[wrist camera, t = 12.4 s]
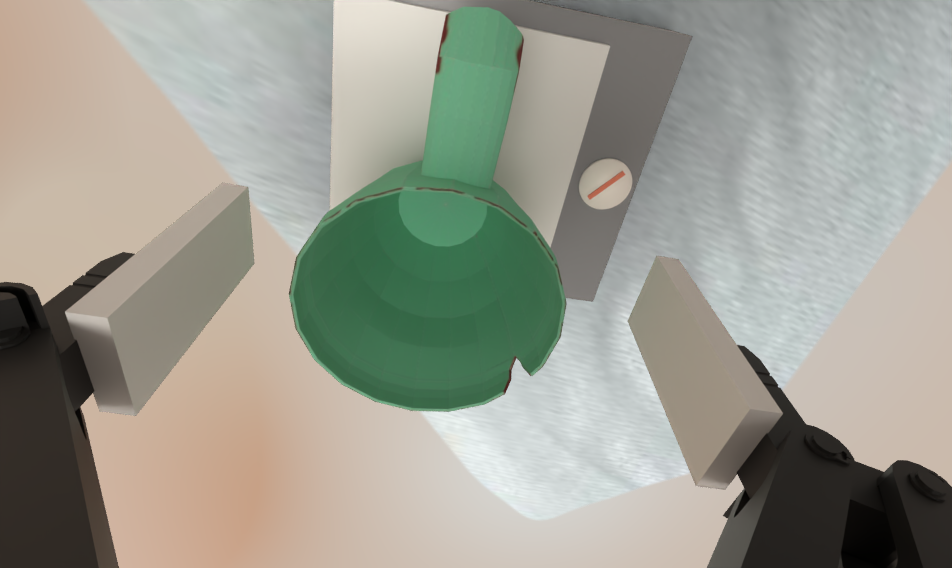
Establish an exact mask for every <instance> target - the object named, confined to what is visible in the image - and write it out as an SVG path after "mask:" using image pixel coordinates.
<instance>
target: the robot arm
mask: <svg viewBox="0 0 952 568" xmlns="http://www.w3.org/2000/svg"><path fill="white" fill-rule="evenodd" d="M253 265H254V253H253V240H252V228H251V216H250V203H249V190H248V187H245V186H239V185H234V184H228V183H221V184H220V185H219V186H218V187H216V188H215V189H214V190H213V191H212V192H210V193H209V194H208V195H207V196H205V197H204V198H203V199H202V200H201V201H199V202H198V203H197V204H196V205H195V206H193V207H192V208H191V209H190V210H188V211H187V212H186V213H185V214H184V215H182V216H181V217H180V218H179V219H177V220H176V221H175V222H174V223H173V224H171V225H170V226H169V227H168V228H166V229H165V230H164V231H163V232H162V233H160V234H159V235H158V236H157V237H156V238H154V239H153V240H152V241H151V242H150V243H148V244H147V245H146V246H145V247H143V248H142V249H141V250H140V251H138V252H137V253H136V254H132V253H125V252H122V253H120V254H118V255H115V256H113V257H110V258H108V259H105V260H103V261H101V262H100V263H98V264H97V265H96V266H94V267H93V268H92V269H90V270H89V271H88V272H86V275H85V276H83V275H82V276H81V277H80V278H79V279H77V280H76V281H75V282H73V285H69V286H68V287H67V288H65V289H64V290H63V291H62V292H60V293H59V294H58V295H57V296H55V297H54V298H52V299H51V300H50V301H49V302H47V303H46V304H45V305H43V306H42V305H41V302H40V299H39V297H38V294H37V293H36V291H35V290H34V289H33V287H30V286H28V285H25V284H22V283H11V282H4V283H0V568H119V566H118V562H117V558H116V553H115V549H114V545H113V541H112V536H111V532H110V528H109V523H108V519H107V514H106V510H105V506H104V501H103V498H102V493H101V488H100V484H99V480H98V476H97V471H96V467H95V462H94V458H93V454H92V449H91V446H90V441H89V437H88V432H87V428H86V423H85V419H84V415H83V413H82V410H81V408H80V406H81V405H82V404H83V403H84V402H85V401H86V400H87V399H88V398H89V396H90V395H91V394H92V393H93V394H94V397H95V400H96V402H97V405H98V408H99V411H101V412H109V413H117V414H125V415H133V416H136V415H137V414H138V413H139V411H140V410H141V409H142V407H143V406H144V405H145V404H146V402H147V401H148V400H149V398H150V397H151V396H152V395H153V393H154V392H155V391H156V389H157V388H158V387H159V386H160V384H161V383H162V382H163V381H164V379H165V378H166V377H167V375H168V374H169V373H170V371H171V370H172V369H173V368H174V366H175V365H176V364H177V362H178V361H179V360H180V358H181V357H182V356H183V355H184V353H185V352H186V351H187V350H188V348H189V347H190V345H191V344H192V343H193V342H194V341H195V339H196V338H197V337H198V335H199V334H200V333H201V331H202V330H203V329H204V328H205V326H206V325H207V324H208V322H209V321H210V320H211V319H212V317H213V316H214V315H215V313H216V312H217V311H218V310H219V308H220V307H221V306H222V304H223V303H224V302H225V301H226V299H227V298H228V297H229V295H230V294H231V293H232V292H233V290H234V289H235V288H236V286H237V285H238V284H239V283H240V281H241V280H242V279H243V277H244V276H245V275H246V274H247V272H248V271H249V269H250V268H251V267H252V266H253ZM628 323H629V325H630V328H631V330H632V333H633V335H634V338H635V340H636V342H637V345H638V347H639V350H640V352H641V354H642V357H643V359H644V362H645V364H646V367H647V369H648V371H649V374H650V376H651V379H652V381H653V383H654V386H655V388H656V391H657V393H658V396H659V398H660V400H661V403H662V405H663V408H664V410H665V412H666V415H667V417H668V420H669V422H670V425H671V427H672V429H673V432H674V434H675V437H676V439H677V441H678V444H679V446H680V449H681V451H682V454H683V456H684V458H685V461H686V463H687V466H688V468H689V470H690V473H691V475H692V478H693V480H694V482H695V485H696V486H700V487H708V488H716V489H726V488H727V487H728V485H729V484H730V483H731V482H732V480H733V479H734V478H735V476H736V475H737V474H738V476H739V478H740V480H741V482H742V484H743V486H744V490H743V491H742V492H741V493H740V495H739V496H738V497H737V498H736V500H735V501H734V502H733V503H732V505H731V506H730V507H729V508H728V510H727V511H726V512H725V514H724V515H723V516H725V517H726V518H728V520H727V523H726V525H725V527H724V529H723V532H722V534H721V536H720V539H719V541H718V543H717V546H716V548H715V550H714V553H713V555H712V557H711V560H710V562H709V564H708V566H707V568H952V487H951V486H950V485H949V484H948V483H947V481H945V480H944V479H943V478H942V477H941V476H938V474H936V473H935V472H933V471H931V470H929V469H927V468H925V467H923V466H921V465H919V464H916V463H913V462H910V461H904V460H898V461H896V462H895V463H893V464H892V465H891V466H890V467H889V468H888V469H887V470H886V471H885V472H882V471H880V470H877V469H875V468H872V467H869V466H866V465H864V464H861V463H858V462H856V461H854V458H853V456H852V455H851V453H850V452H849V450H848V449H847V448H846V447H845V446H844V445H843V444H842V443H841V442H840V441H839V440H838V439H836V438H835V437H833V436H832V435H830V434H829V433H827V432H825V431H823V430H821V429H819V428H817V427H814V426H810V425H806V424H805V422H804V421H803V419H802V418H801V417H800V415H799V414H798V412H797V411H796V410H795V408H794V407H793V405H792V404H791V403H790V401H789V400H788V398H787V397H786V395H785V394H784V393H783V391H782V390H781V388H778V384H777V383H776V381H775V380H774V379H773V377H772V376H770V373H769V372H768V370H767V369H766V367H765V366H764V365H763V363H762V362H761V360H760V359H759V358H758V357H756V356H755V355H754V354H753V353H752V352H751V351H749V350H748V349H747V348H746V347H745V346H740V345H736V343H735V342H734V340H733V339H732V337H731V336H730V334H729V333H728V331H727V330H726V328H725V327H724V325H723V324H722V322H721V321H720V320H719V318H718V317H717V315H716V314H715V312H714V311H713V309H712V308H711V306H710V305H709V303H708V302H707V300H706V299H705V297H704V296H703V294H702V293H701V292H700V290H699V289H698V287H697V286H696V284H695V283H694V281H693V280H692V278H691V277H690V275H689V274H688V272H687V271H686V269H685V268H684V266H683V265H682V263H681V262H680V261H679V259H673V258H668V257H662V256H656V258H655V261H654V263H653V265H652V267H651V270H650V272H649V274H648V277H647V279H646V281H645V283H644V286H643V288H642V290H641V292H640V295H639V297H638V299H637V301H636V304H635V306H634V308H633V310H632V313H631V315H630V317H629V320H628Z"/></svg>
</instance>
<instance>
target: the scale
mask: <svg viewBox="0 0 952 568" xmlns="http://www.w3.org/2000/svg"><path fill="white" fill-rule="evenodd" d="M462 7H489V8H491V9H494V10H497V11H500V12H501V13H502V14H503V15H505V16H506V17H507V18H508V19H509V20H510V21H511V22H512V23H513V24H514V25H515V26H516V27H517V28H518V29H519V31H520V32H521V33H522V35H523V38H524V43H523V50H522V56H521V63H520V69H519V74H518V79H517V83H516V87H515V92H514V96H513V100H512V104H511V109H510V113H509V117H508V122H507V126H506V130H505V134H504V137H503V141H502V145H501V149H500V153H499V157H498V161H497V165H496V169H495V173H494V176H493V181H495V182H496V183H497V184H499V185H500V186H501V187H502V188H504V189H505V190H506V191H507V192H508V194H509V195H510V196H511V197H512V199H513V200H514V201H515V202H516V203H517V205H518V206H519V207H520V208H521V209H522V210H523V211H524V212H525V213H526V214H527V215H528V216H529V217H530V218H531V219H532V221H533V222H534V224H535V225H536V227H537V228H538V230H539V231H540V233H541V234H542V236H543V237H544V239H545V241H546V242H547V244H548V245H549V247H550V248H551V250H552V251H553V253H554V255H555V257H556V259H557V263H558V266H559V270H560V275H561V280H562V284H563V289H564V294H565V298H571V299H578V300H585V301H591V302H593V300H594V297H595V294H596V292H597V289H598V286H599V284H600V281H601V278H602V276H603V273H604V270H605V268H606V265H607V262H608V260H609V257H610V254H611V252H612V249H613V246H614V244H615V241H616V238H617V236H618V233H619V230H620V228H621V225H622V222H623V220H624V217H625V214H626V212H627V209H628V206H629V204H630V201H631V199H632V196H633V193H634V191H635V188H636V185H637V183H638V180H639V177H640V175H641V172H642V169H643V167H644V164H645V161H646V159H647V156H648V153H649V151H650V148H651V145H652V143H653V140H654V137H655V135H656V132H657V129H658V127H659V124H660V121H661V119H662V116H663V113H664V111H665V108H666V105H667V103H668V100H669V97H670V95H671V92H672V89H673V87H674V84H675V81H676V79H677V76H678V73H679V71H680V68H681V65H682V63H683V60H684V57H685V55H686V52H687V49H688V47H689V44H690V41H691V39H692V36H689V35H686V34H682V33H679V32H675V31H671V30H667V29H662V28H658V27H653V26H648V25H643V24H639V23H634V22H629V21H624V20H620V19H615V18H610V17H606V16H601V15H596V14H591V13H587V12H582V11H577V10H572V9H568V8H563V7H558V6H553V5H549V4H544V3H539V2H535V1H530V0H334V20H333V69H332V119H331V169H330V210H331V209H333V208H334V207H336V206H337V205H339V204H340V203H342V202H343V201H345V200H346V199H347V198H349V197H350V196H352V195H353V194H355V193H356V192H358V191H359V190H361V189H362V188H364V187H365V186H367V185H368V184H370V183H372V182H374V181H375V180H377V179H378V178H380V177H381V176H383V175H384V174H386V173H387V172H389V171H390V170H392V169H393V168H396V167H400V166H404V165H407V164H411V163H414V162H418V161H422V160H423V156H424V148H425V141H426V134H427V127H428V120H429V112H430V105H431V99H432V92H433V85H434V78H435V71H436V64H437V58H438V52H439V47H440V42H441V37H442V32H443V27H444V22H445V17H446V14H448V13H450V12H452V11H454V10H457V9H459V8H462Z"/></svg>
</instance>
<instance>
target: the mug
mask: <svg viewBox="0 0 952 568" xmlns="http://www.w3.org/2000/svg"><path fill="white" fill-rule="evenodd" d="M523 43H524V38H523V35H522V33H521V32H520V31H519V29H518V28H517V27H516V26H515V25H514V24H513V23H512V22H511V21H510V20H509V19H508V18H507V17H506V16H505V15H503V14H502V13H501V12H500V11H497V10H494V9H491V8H489V7H462V8H459V9H457V10H454V11H452V12H450V13H448V14H446V17H445V22H444V27H443V32H442V37H441V42H440V47H439V52H438V58H437V64H436V71H435V78H434V85H433V92H432V99H431V105H430V112H429V120H428V127H427V134H426V141H425V148H424V156H423V160H422V161H418V162H414V163H411V164H407V165H404V166H400V167H396V168H393V169H392V170H390V171H389V172H387V173H386V174H384V175H383V176H381V177H380V178H378V179H377V180H375V181H374V182H372V183H370V184H368V185H367V186H365V187H364V188H362V189H361V190H359V191H358V192H356V193H355V194H353V195H352V196H350V197H349V198H347V199H346V200H345V201H343V202H342V203H340V204H339V205H337V206H336V207H334V208H333V209H331V210H330V211H329V212H328V213H327V214H326V215H325V216H324V217H323V218H322V220H321V221H320V223H319V224H318V226H317V227H316V229H315V230H314V231H313V233H312V234H311V236H310V237H309V239H308V240H307V242H306V243H305V245H304V246H303V248H302V249H301V251H300V252H299V254H298V256H297V257H296V261H295V266H294V271H293V276H292V281H291V286H290V291H289V297H290V302H291V307H292V312H293V318H294V322H295V328H296V330H297V332H298V333H299V335H300V337H301V338H302V340H303V342H304V344H305V345H306V347H307V348H308V350H309V352H310V353H311V355H312V357H313V358H314V360H315V361H316V362H317V363H319V364H320V365H321V366H322V367H323V368H324V369H325V370H326V371H327V372H328V373H330V374H331V375H332V376H333V377H334V378H335V379H336V380H337V381H338V382H340V383H341V384H342V385H344V386H346V387H348V388H350V389H352V390H354V391H356V392H357V393H359V394H361V395H364V396H365V397H367V398H369V399H371V400H373V401H375V402H379V403H383V404H387V405H391V406H395V407H399V408H403V409H407V410H411V411H444V412H449V411H454V410H459V409H464V408H469V407H474V406H479V405H484V404H486V403H488V402H490V401H492V400H494V399H496V398H498V397H500V396H502V395H504V394H505V393H506V390H507V388H508V386H509V383H510V381H511V370H512V367H513V365H514V362H515V360H516V358H517V359H518V360H519V361H520V362H521V364H522V367H523V368H524V369H525V370H526V371H527V372H528V374H529V375H530V376H533V375H534V374H535V373H536V372H537V371H538V370H540V369H541V368H542V367H543V366H544V364H545V362H546V361H547V359H548V357H549V356H550V354H551V352H552V351H553V349H554V347H555V346H556V344H557V342H558V340H559V339H560V337H561V332H562V326H563V320H564V314H565V309H566V298H565V294H564V289H563V284H562V280H561V275H560V270H559V266H558V263H557V259H556V257H555V255H554V253H553V251H552V250H551V248H550V247H549V245H548V244H547V242H546V241H545V239H544V237H543V236H542V234H541V233H540V231H539V230H538V228H537V227H536V225H535V224H534V222H533V221H532V219H531V218H530V217H529V216H528V215H527V214H526V213H525V212H524V211H523V210H522V209H521V208H520V207H519V206H518V205H517V203H516V202H515V201H514V200H513V199H512V197H511V196H510V195H509V194H508V192H507V191H506V190H505V189H504V188H502V187H501V186H500V185H499V184H497V183H496V182H495V181H493V176H494V173H495V169H496V165H497V161H498V157H499V153H500V149H501V145H502V141H503V137H504V134H505V130H506V126H507V122H508V117H509V113H510V109H511V104H512V100H513V96H514V92H515V87H516V83H517V79H518V74H519V69H520V63H521V56H522V50H523Z"/></svg>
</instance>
